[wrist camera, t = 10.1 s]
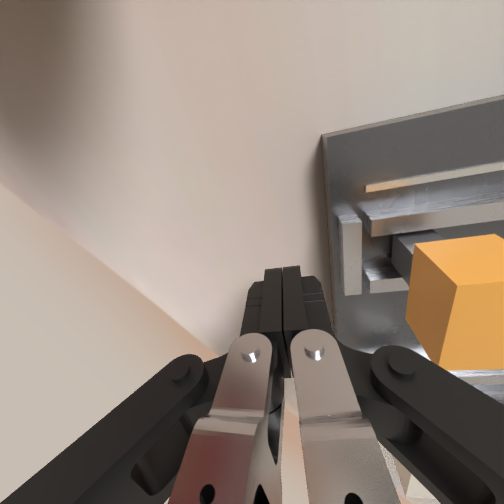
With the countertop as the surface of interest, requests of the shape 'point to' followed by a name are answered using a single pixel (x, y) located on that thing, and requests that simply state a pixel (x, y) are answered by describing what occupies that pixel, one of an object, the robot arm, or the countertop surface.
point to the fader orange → (454, 297)
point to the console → (408, 212)
